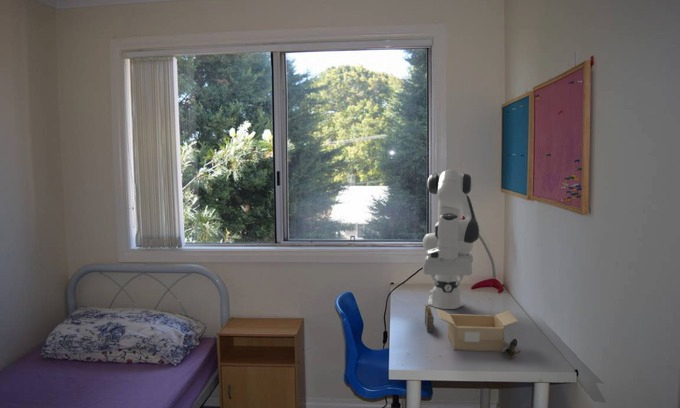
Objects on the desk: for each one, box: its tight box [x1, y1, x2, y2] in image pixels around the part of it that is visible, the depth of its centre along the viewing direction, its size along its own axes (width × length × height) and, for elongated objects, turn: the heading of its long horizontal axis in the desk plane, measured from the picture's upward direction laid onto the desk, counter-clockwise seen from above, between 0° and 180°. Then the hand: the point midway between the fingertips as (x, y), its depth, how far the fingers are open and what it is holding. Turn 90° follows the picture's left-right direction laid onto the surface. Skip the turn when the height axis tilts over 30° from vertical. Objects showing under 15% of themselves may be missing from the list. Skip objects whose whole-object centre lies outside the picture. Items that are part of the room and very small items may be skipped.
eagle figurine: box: [501, 338, 521, 361], centre depth 191 cm, size 8×7×9 cm
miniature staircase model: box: [424, 304, 434, 333], centre depth 221 cm, size 11×3×10 cm, turn 175°
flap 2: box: [494, 310, 519, 328], centre depth 202 cm, size 13×1×6 cm
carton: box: [447, 313, 505, 352], centre depth 203 cm, size 16×20×10 cm
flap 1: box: [435, 307, 454, 325], centre depth 203 cm, size 13×1×6 cm
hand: (446, 284), depth 202 cm, fingers open, 8 cm apart
